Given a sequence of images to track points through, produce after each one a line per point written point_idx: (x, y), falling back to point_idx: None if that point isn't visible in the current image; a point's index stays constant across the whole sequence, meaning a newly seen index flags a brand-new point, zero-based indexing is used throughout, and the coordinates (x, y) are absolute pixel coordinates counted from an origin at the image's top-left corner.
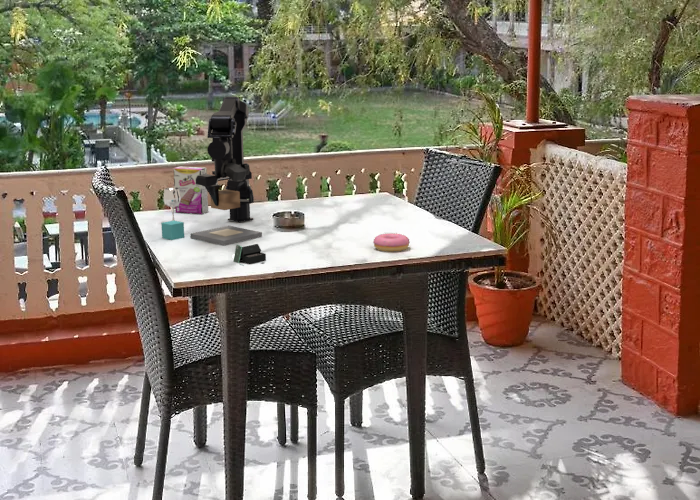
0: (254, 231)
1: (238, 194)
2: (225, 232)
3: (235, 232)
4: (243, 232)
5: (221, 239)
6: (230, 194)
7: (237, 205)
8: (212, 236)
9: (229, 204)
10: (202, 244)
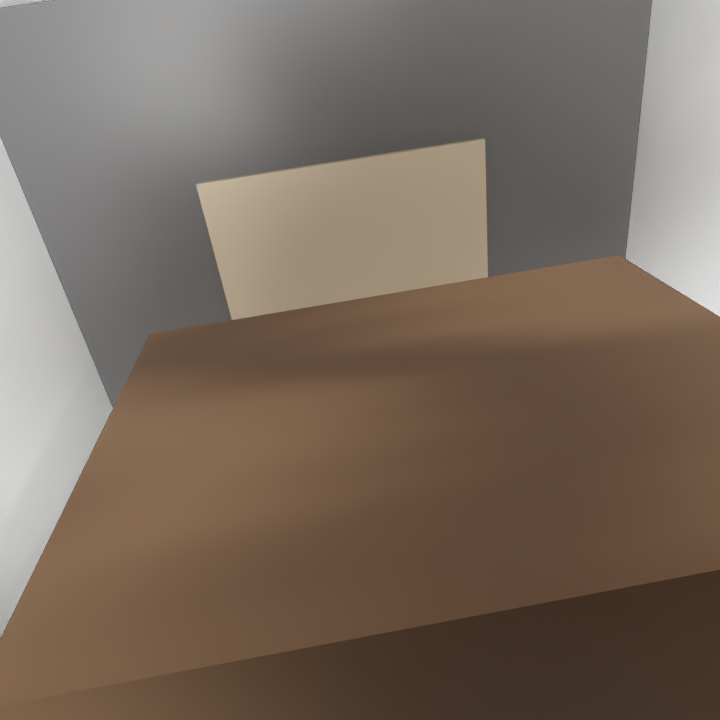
0: (36, 133)
1: (94, 579)
2: (372, 290)
3: (287, 215)
4: (189, 180)
5: (621, 8)
6: (577, 543)
7: (223, 346)
8: (570, 234)
9: (505, 327)
10: (704, 164)
